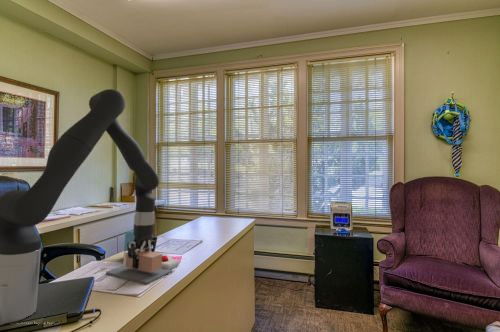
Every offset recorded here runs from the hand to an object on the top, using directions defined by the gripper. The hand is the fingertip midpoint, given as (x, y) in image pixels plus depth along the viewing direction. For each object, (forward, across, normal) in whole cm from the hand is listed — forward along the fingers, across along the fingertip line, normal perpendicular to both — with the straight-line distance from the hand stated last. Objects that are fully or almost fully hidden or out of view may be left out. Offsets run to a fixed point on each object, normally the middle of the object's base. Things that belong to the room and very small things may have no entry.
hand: (141, 265), depth 107 cm
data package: (+3, -13, -14) cm, 20 cm away
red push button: (+3, -12, +1) cm, 13 cm away
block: (-2, 0, +7) cm, 8 cm away
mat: (+3, 0, 0) cm, 3 cm away
